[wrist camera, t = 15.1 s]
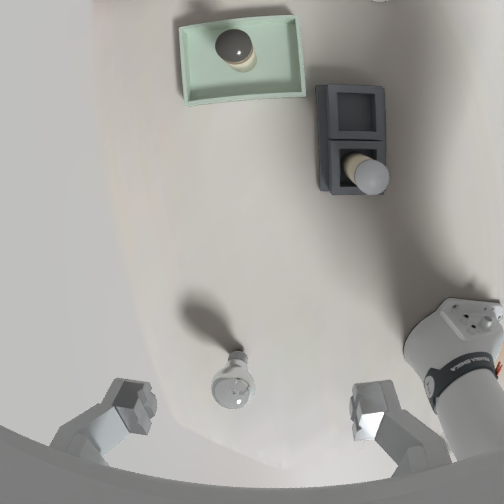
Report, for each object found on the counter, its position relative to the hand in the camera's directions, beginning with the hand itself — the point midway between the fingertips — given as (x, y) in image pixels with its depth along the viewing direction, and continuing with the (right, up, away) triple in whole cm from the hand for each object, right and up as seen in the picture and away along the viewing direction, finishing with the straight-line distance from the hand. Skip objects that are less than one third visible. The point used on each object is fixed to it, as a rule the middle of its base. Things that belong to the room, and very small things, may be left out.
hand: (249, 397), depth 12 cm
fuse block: (+13, +21, +27) cm, 37 cm away
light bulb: (-2, -12, +43) cm, 45 cm away
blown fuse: (-1, +30, +24) cm, 38 cm away
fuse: (+13, +17, +28) cm, 35 cm away
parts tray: (-1, +30, +24) cm, 39 cm away
